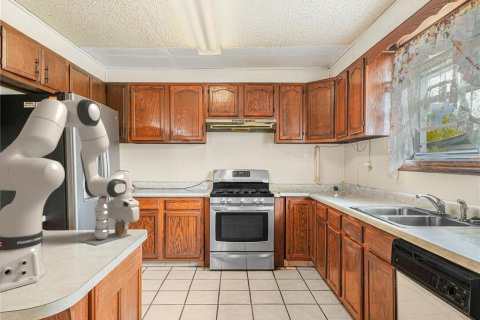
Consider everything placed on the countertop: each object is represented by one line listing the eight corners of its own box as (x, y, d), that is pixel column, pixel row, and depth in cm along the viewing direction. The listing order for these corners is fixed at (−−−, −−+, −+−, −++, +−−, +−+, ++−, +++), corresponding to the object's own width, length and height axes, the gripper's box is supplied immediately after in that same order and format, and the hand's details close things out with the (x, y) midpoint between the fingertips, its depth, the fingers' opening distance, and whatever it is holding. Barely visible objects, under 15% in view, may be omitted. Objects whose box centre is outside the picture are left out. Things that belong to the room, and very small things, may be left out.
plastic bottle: (111, 237, 137) (112, 196, 137) (103, 241, 130) (105, 198, 130) (99, 237, 137) (100, 196, 137) (90, 240, 131) (91, 198, 131)
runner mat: (96, 245, 126) (96, 231, 126) (81, 242, 130) (81, 228, 130) (131, 235, 144) (132, 222, 144) (118, 232, 148) (118, 220, 149)
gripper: (103, 200, 146) (103, 226, 146) (132, 204, 137) (131, 232, 137) (113, 198, 152) (113, 224, 152) (141, 202, 143) (141, 229, 143)
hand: (122, 228), depth 145 cm, fingers open, 3 cm apart
